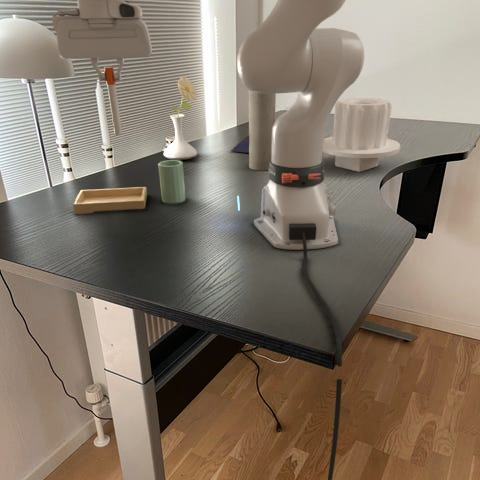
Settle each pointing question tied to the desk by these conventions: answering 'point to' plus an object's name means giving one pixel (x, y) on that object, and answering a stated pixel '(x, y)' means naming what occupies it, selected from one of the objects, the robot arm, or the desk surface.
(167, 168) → the pen cup
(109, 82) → the marker
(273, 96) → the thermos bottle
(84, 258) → the desk surface
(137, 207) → the tray
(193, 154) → the flower in vase
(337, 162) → the flanged gear
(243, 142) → the blue flat triangle
